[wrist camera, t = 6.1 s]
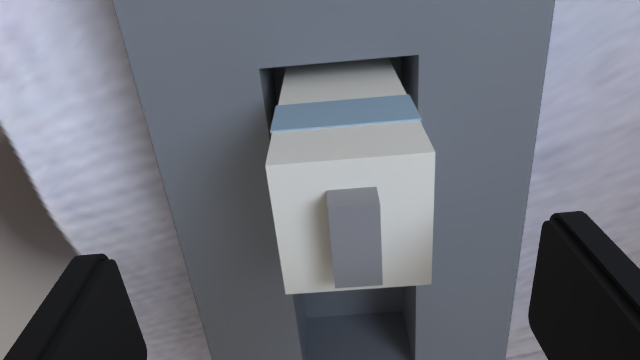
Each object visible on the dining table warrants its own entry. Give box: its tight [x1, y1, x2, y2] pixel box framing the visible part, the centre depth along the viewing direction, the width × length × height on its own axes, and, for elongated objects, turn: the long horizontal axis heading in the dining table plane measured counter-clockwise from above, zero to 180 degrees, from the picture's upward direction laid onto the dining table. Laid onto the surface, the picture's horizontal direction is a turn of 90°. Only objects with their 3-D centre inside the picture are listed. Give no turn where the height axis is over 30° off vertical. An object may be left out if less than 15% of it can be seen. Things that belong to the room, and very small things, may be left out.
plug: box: [265, 57, 436, 294], centre depth 16 cm, size 4×4×11 cm
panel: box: [112, 0, 555, 360], centre depth 20 cm, size 14×28×4 cm, turn 5°
